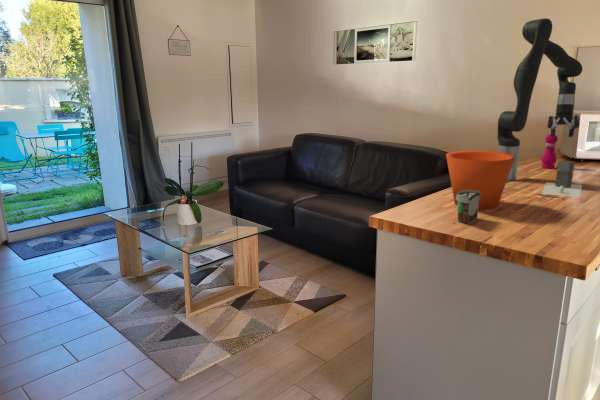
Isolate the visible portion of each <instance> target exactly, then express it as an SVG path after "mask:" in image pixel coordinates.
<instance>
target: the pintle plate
mask: <svg viewBox="0 0 600 400" xmlns="http://www.w3.org/2000/svg"><path fill="white" fill-rule="evenodd" d="M555 184H556V182H547V181H546V182H545V185H544V187H543V189H542V191H541V194H540V197H544V198H555V199H561V197H558V196H562V197H563V199H564V200H565V199H567V198H566V197H572V198H581V195H582V187H583V185H582V184H573V183H572V184H571V187H568V188H564V186H560V187H557V186H555ZM564 197H565V198H564Z"/></svg>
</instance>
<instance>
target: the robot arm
mask: <svg viewBox="0 0 600 400" xmlns="http://www.w3.org/2000/svg"><path fill="white" fill-rule="evenodd" d="M552 31H553V22H552V20H551V19H550V18H548V17H547V18H538V19H534V20H533V19H532V20H529V21H527V22H525V23H524V25H523V27H522V31H521V32H522V33H521V35H522V36H523V39H524V40H525V41H526V42H528V44H530V45H531V49H530V50H529V51H528V53H527V54H526V56H525V57H524V58H523V59H522V60H521V61H520V63H519V64H518V65H517V68H516V71H515V74H514V78H513V88H514V91H515V95H516V100H517V101H516V106H515V110H514V111H512V110H506V111H502V112H501V113H500V114H499V117H498V121H497V141H498V145H497V146H498V147H497V152H503V153H508V154H512V155H514V156H515V159H514V162H513V165H512V167H511V170H510V173H509V176H508V179H507V181H506V183H511V182H514V181H515V182H516V181H517V177H518V176H517V174H518V166H519V165H518V163H519V153H520V146H521V145H520V144H521V140H520V139H519V138H517V137H516V136H515V135H514V134H513V132H515V133H516V132H518V133H519V132H521V131H523V130H524V128H525V127H526V123H527V121H528V117H529V116H528V115H529V110H530V103H531V99H532V95H533V93H534V92H533V91H534V88H535V85H536V82H537V78H538V74H539V71H540V66H541V63H542V61H543V56H544V55H545V57H546V58H547V59H548V60H549V61H550V63H552V64H553V65H554V66H555V68H557V71H556V73H557V79H558V85H559V87H558V97H557V100H556V109H555V116H553V115H550V116H548V122H547V128H548V129H550V132H551V137H555V135H556V129H557V128H558V127H559V126H560V125H561V126H563V125H565V126H568V128H569V130H568V138H573V136H574V134H575V130H576V129H579V128H580V115H573V114H574V110H575V103H576V90H577V85H576V84H577V83H575V82H573V81H569V79H568V78H574V77H575V78H576V77H579V76H580V75H581V74H582V72H583V65H582V63H580V61H579V60H577V59H576V58H574V57H572V56H570V55H569V54H568V53H567V51H566V50H565V49H564V48H563V47H562V46H560V45H559V44H558V43H556V42H553V41H552V40H550V39H551V35H552ZM572 120H573V122H572Z"/></svg>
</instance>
